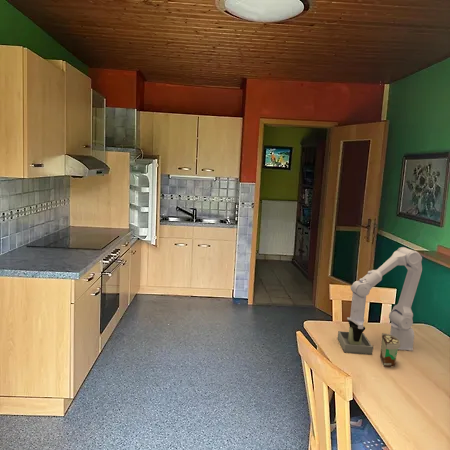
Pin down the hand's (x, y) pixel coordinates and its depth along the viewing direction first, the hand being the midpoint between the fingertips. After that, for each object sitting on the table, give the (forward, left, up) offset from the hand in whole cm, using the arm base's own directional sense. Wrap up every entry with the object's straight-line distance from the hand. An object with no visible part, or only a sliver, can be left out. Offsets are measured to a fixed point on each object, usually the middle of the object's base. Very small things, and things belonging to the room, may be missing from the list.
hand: (354, 338), depth 188 cm
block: (0, 0, -2) cm, 2 cm away
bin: (0, 0, -3) cm, 3 cm away
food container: (-11, +14, -4) cm, 18 cm away
